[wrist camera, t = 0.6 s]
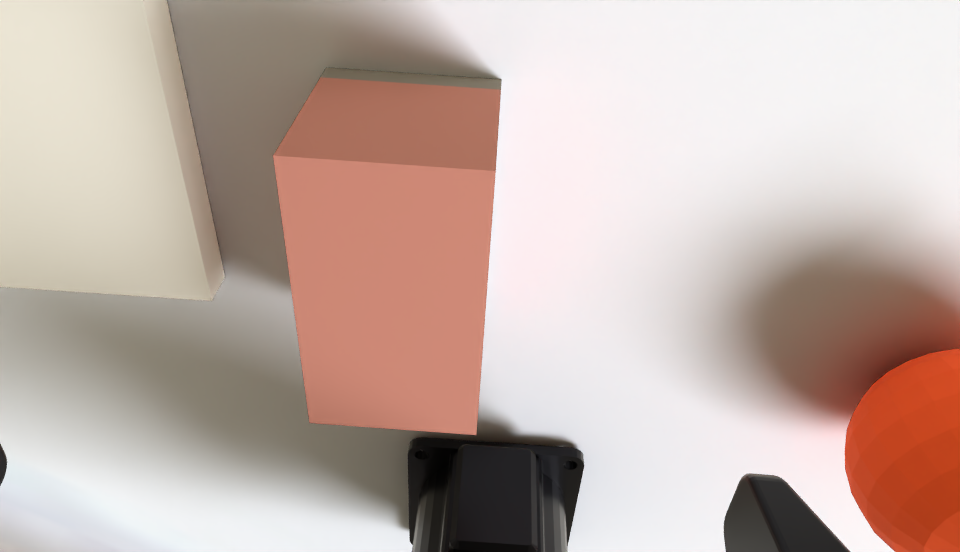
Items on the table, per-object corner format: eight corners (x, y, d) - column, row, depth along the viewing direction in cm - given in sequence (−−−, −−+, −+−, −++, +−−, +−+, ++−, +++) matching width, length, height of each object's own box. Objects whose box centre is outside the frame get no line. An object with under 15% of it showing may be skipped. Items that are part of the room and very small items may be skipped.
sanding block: (484, 315, 23) (476, 435, 19) (346, 305, 23) (309, 422, 19) (501, 77, 18) (495, 170, 14) (327, 65, 18) (273, 155, 14)
